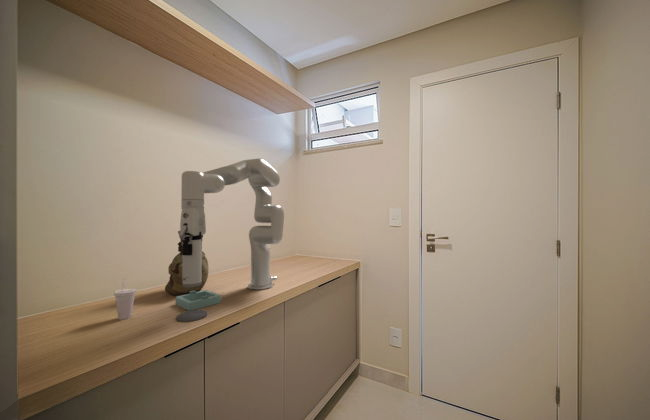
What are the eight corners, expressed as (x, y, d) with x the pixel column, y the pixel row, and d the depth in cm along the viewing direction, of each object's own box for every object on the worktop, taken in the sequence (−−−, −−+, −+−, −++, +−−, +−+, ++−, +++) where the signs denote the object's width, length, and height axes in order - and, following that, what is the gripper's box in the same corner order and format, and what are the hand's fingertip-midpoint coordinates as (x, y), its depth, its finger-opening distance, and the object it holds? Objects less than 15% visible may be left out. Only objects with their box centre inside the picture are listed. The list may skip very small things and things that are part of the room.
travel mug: (182, 288, 90) (182, 231, 90) (182, 284, 96) (182, 230, 96) (202, 286, 93) (202, 230, 93) (201, 282, 99) (201, 229, 99)
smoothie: (117, 315, 95) (117, 277, 95) (138, 313, 98) (138, 276, 98) (110, 322, 89) (111, 281, 90) (133, 319, 92) (133, 279, 92)
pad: (200, 309, 101) (200, 307, 101) (212, 315, 95) (212, 313, 95) (172, 317, 93) (172, 315, 94) (183, 324, 87) (183, 322, 87)
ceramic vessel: (159, 300, 113) (160, 231, 114) (168, 288, 132) (169, 229, 133) (207, 295, 120) (207, 230, 121) (209, 284, 140) (209, 228, 140)
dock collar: (206, 296, 118) (206, 287, 118) (221, 302, 109) (221, 292, 110) (175, 304, 108) (175, 294, 108) (189, 311, 99) (189, 300, 100)
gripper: (190, 203, 87) (190, 257, 86) (213, 206, 104) (213, 250, 103) (168, 203, 87) (168, 257, 86) (194, 206, 104) (194, 250, 103)
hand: (192, 253), depth 95 cm, fingers closed on travel mug, 6 cm apart
